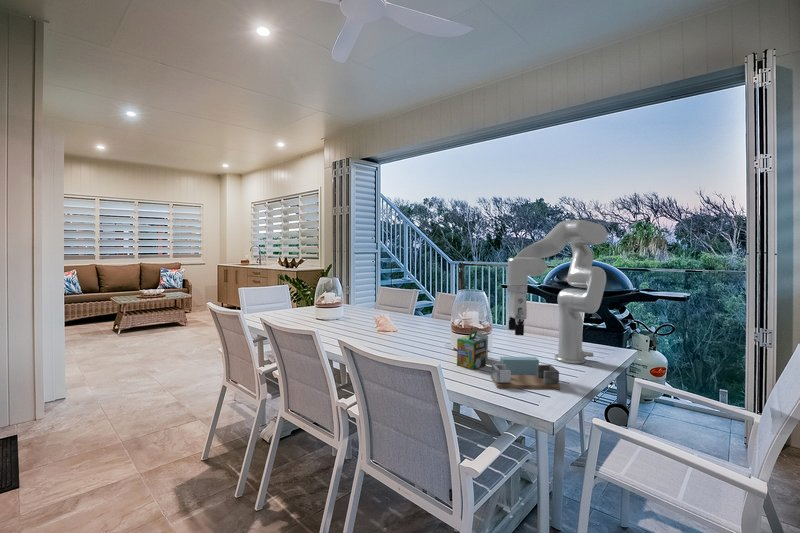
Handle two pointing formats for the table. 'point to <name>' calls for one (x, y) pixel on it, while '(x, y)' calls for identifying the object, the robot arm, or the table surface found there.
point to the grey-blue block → (521, 365)
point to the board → (534, 379)
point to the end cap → (501, 373)
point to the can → (484, 335)
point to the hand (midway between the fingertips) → (515, 332)
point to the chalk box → (471, 351)
